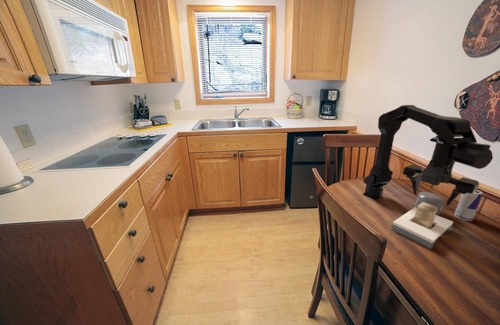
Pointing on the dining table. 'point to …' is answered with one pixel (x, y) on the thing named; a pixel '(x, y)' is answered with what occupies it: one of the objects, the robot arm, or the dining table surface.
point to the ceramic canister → (430, 200)
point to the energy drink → (468, 205)
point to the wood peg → (425, 215)
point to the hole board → (421, 229)
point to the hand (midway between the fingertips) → (430, 199)
